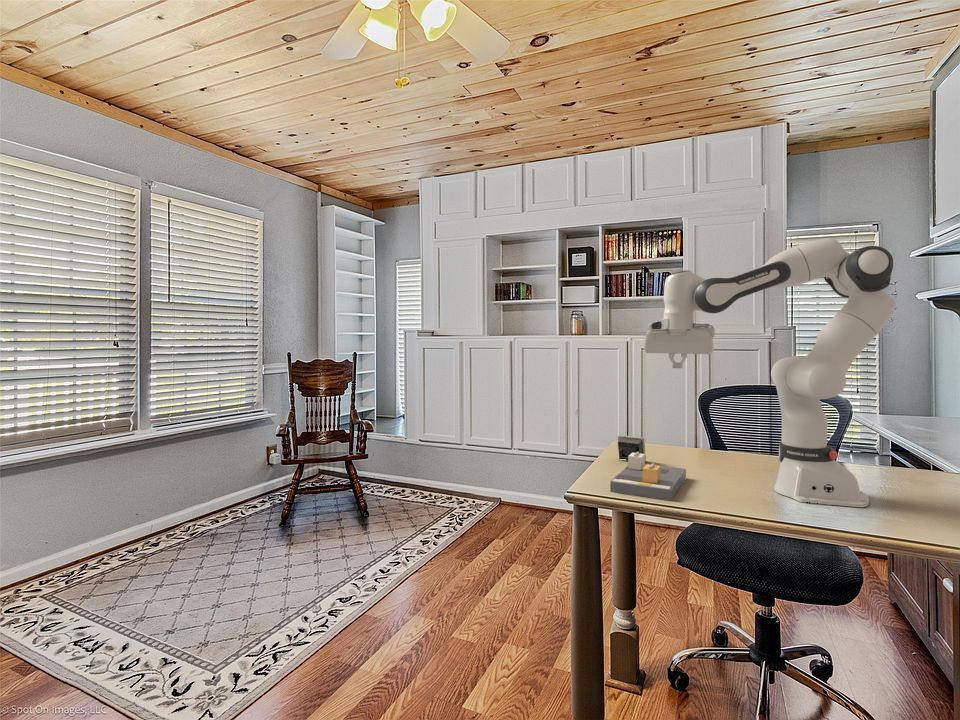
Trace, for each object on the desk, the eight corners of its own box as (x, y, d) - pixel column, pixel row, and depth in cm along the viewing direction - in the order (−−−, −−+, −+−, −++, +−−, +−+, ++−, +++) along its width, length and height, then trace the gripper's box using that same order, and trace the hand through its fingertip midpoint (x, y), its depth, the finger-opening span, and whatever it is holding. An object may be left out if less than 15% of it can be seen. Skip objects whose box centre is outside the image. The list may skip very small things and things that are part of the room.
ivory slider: (644, 466, 170) (644, 452, 169) (640, 470, 165) (641, 455, 165) (632, 464, 172) (632, 450, 171) (628, 468, 167) (628, 454, 167)
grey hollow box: (646, 461, 188) (645, 436, 186) (642, 466, 183) (641, 440, 182) (620, 457, 193) (619, 433, 191) (615, 462, 189) (615, 437, 187)
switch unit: (685, 478, 167) (686, 467, 166) (670, 500, 146) (670, 489, 146) (632, 471, 175) (632, 461, 175) (610, 491, 155) (610, 480, 155)
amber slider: (660, 479, 155) (660, 463, 155) (656, 483, 151) (656, 468, 151) (646, 477, 158) (646, 462, 157) (642, 481, 153) (642, 466, 153)
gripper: (716, 323, 160) (715, 368, 161) (647, 324, 171) (647, 366, 172) (713, 323, 155) (712, 370, 156) (642, 324, 166) (642, 367, 167)
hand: (677, 368), depth 164 cm, fingers closed
